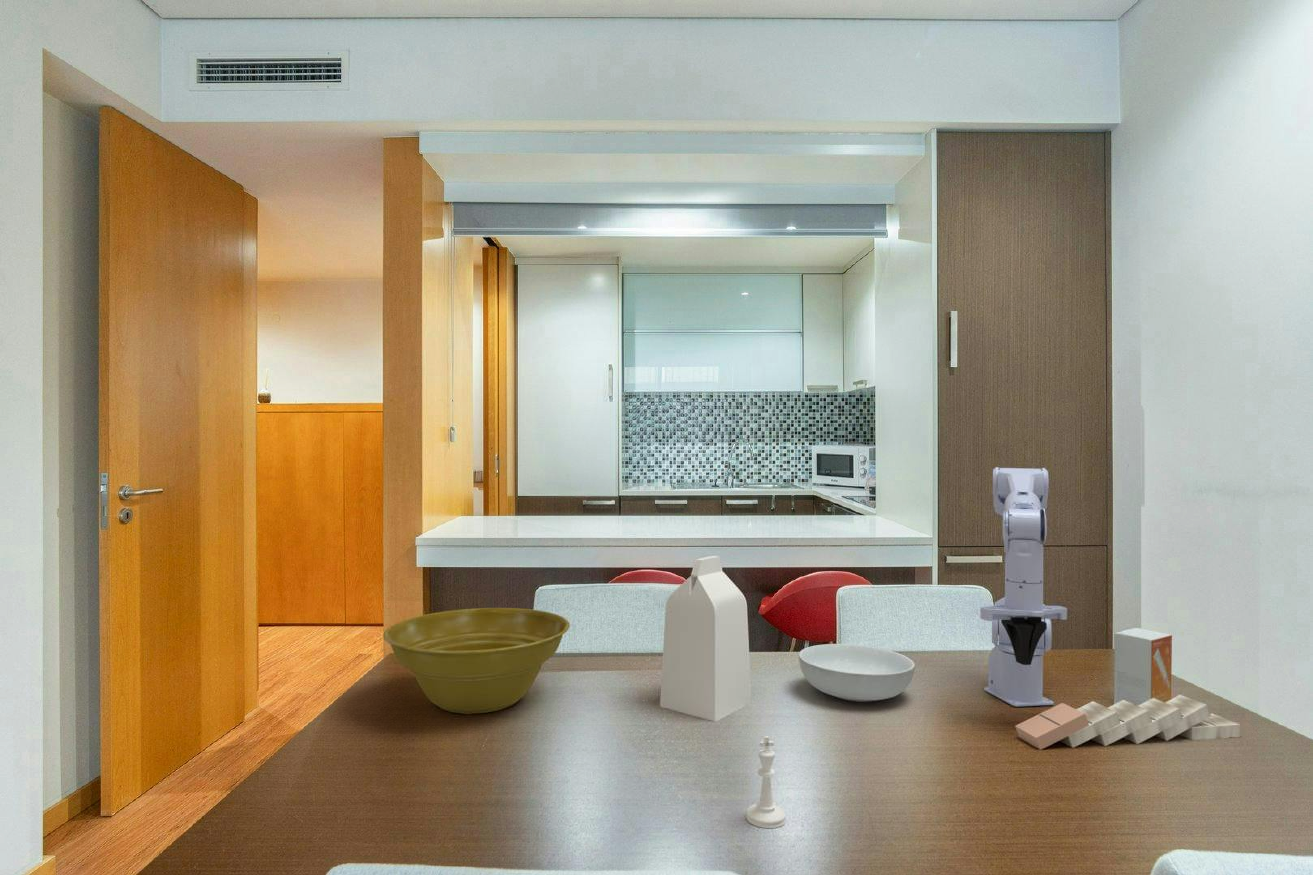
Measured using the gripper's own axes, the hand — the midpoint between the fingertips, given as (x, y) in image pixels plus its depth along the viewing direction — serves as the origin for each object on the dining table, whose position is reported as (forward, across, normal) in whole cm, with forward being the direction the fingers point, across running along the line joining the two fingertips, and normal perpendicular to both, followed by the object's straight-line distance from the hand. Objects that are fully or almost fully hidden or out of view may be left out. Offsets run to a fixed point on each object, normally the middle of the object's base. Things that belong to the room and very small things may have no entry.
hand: (1023, 663), depth 124 cm
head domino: (+10, -4, -6) cm, 12 cm away
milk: (+11, -50, +18) cm, 54 cm away
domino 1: (+10, +2, -6) cm, 12 cm away
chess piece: (+12, -52, -24) cm, 58 cm away
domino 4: (+9, +18, -6) cm, 22 cm away
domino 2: (+10, +7, -7) cm, 14 cm away
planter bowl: (+11, -90, +24) cm, 94 cm away
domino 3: (+10, +13, -7) cm, 17 cm away
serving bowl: (+11, -21, +20) cm, 30 cm away
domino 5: (+9, +23, -6) cm, 26 cm away
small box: (+10, +28, +6) cm, 31 cm away
